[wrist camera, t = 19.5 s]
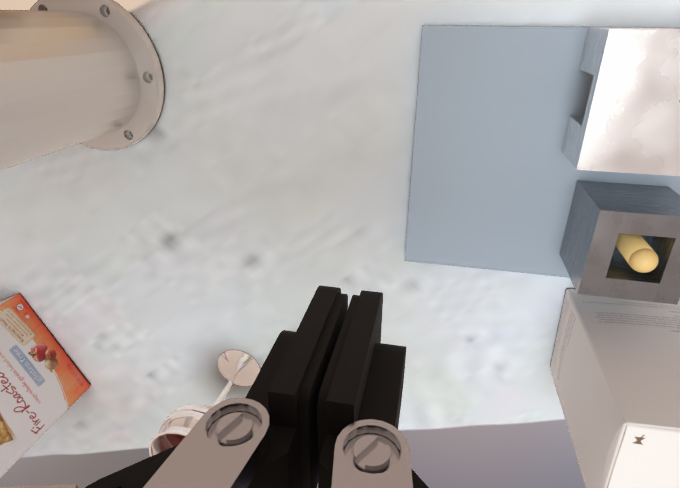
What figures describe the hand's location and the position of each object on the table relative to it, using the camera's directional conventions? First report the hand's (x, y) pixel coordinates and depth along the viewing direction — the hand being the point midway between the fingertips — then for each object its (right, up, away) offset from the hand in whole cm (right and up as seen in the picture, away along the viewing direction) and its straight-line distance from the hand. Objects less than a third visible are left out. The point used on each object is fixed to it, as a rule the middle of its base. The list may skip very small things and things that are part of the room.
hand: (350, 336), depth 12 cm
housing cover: (+19, +12, +19) cm, 29 cm away
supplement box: (+23, -5, +28) cm, 37 cm away
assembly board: (+15, +9, +23) cm, 29 cm away
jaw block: (+20, +4, +22) cm, 30 cm away
